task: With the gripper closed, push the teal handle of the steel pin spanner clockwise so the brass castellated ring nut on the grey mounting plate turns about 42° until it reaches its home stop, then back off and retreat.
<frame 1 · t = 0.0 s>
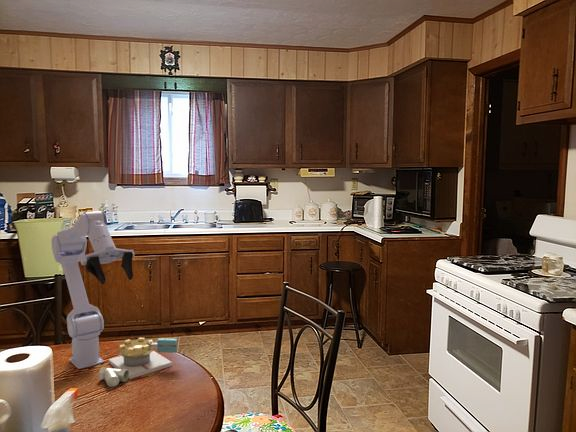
hand: (117, 279, 124), 32 cm above the table, tool tilted 50°, fingers open, 7 cm apart
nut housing: (137, 365, 145), on the table
ring nut: (148, 345, 145), point 7 cm above the table, hinge at 45.0°
pipe fitting: (111, 383, 133), on the table
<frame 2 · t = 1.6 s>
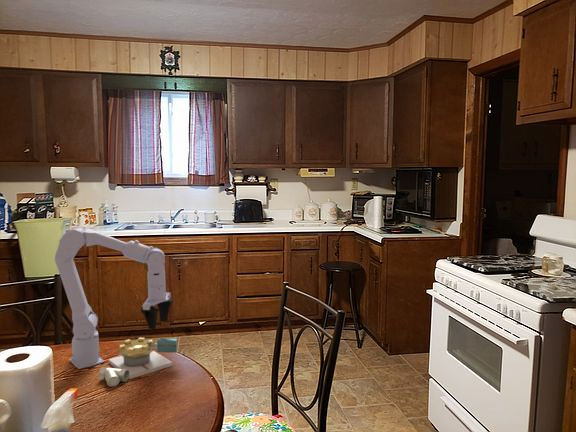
hand: (158, 324, 152), 11 cm above the table, tool pointing down, fingers open, 7 cm apart
nothing on the table moved.
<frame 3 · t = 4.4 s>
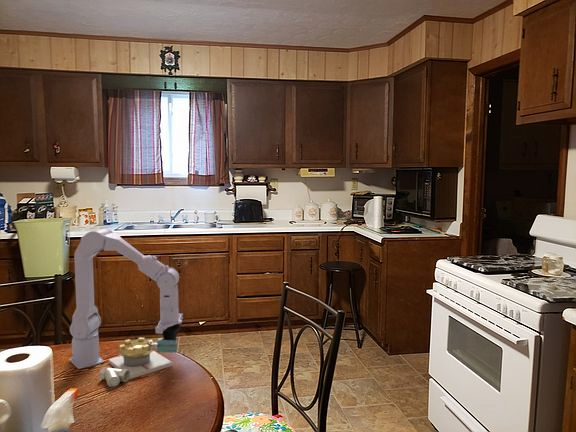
hand: (170, 347, 147), 5 cm above the table, tool pointing down, fingers closed
ring nut: (148, 345, 145), point 7 cm above the table, hinge at 45.0°, touching gripper
everything else where it was.
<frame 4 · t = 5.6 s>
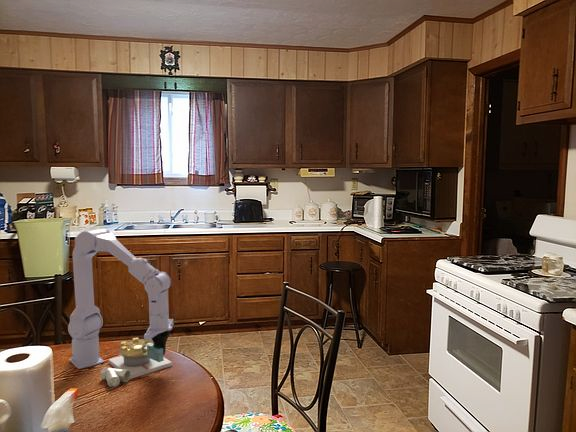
hand: (160, 355, 141), 5 cm above the table, tool pointing down, fingers closed, pressing on ring nut
ring nut: (143, 348, 142), point 7 cm above the table, hinge at 8.8°, touching gripper
everything else where it was.
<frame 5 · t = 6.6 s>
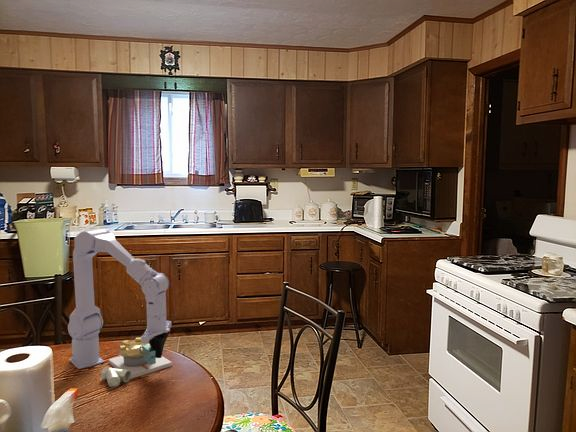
hand: (157, 357, 139), 5 cm above the table, tool pointing down, fingers closed
ring nut: (141, 348, 142), point 7 cm above the table, hinge at -3.0°, touching gripper
everything else where it was.
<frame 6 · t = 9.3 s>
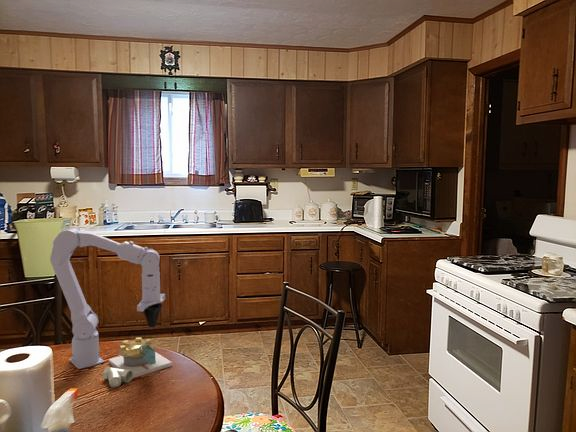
hand: (152, 326, 151), 10 cm above the table, tool pointing down, fingers closed
ring nut: (141, 349, 142), point 7 cm above the table, hinge at -3.2°
everything else where it was.
at the end: ring nut at -3° (first picture: +45°); pipe fitting moved 1.2 cm from its start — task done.
